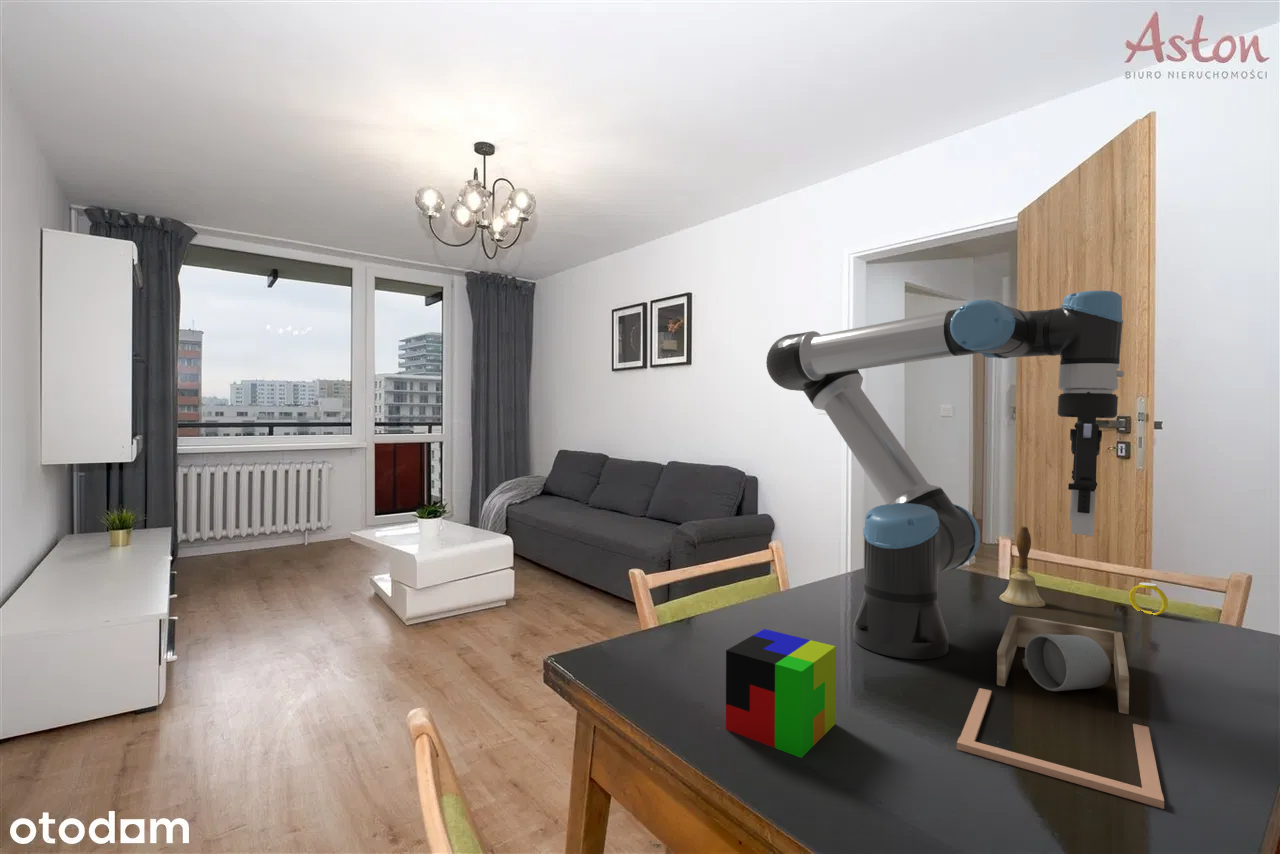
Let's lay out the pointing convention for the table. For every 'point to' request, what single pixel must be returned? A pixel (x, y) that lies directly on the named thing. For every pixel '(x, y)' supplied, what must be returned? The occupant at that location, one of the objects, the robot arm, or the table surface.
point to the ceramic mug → (1066, 662)
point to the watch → (1154, 587)
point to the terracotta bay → (1145, 755)
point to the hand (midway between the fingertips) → (1080, 527)
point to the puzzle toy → (781, 690)
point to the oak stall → (1027, 627)
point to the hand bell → (1022, 577)
